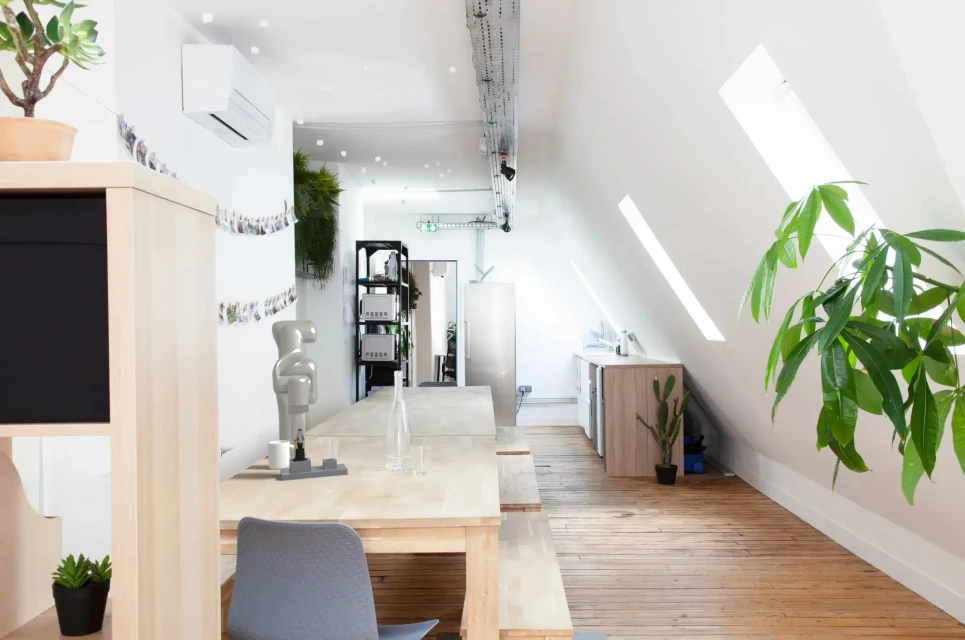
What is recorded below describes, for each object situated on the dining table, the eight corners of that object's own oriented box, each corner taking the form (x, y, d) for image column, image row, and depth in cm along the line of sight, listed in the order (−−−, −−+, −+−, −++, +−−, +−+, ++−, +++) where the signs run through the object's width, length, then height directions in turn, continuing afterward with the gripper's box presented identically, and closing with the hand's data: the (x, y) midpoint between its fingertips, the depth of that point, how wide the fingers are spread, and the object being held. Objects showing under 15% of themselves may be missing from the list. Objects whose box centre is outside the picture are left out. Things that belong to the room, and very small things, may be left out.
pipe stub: (294, 464, 276) (293, 432, 276) (304, 463, 277) (304, 432, 277) (294, 466, 272) (293, 434, 272) (305, 465, 274) (304, 433, 274)
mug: (301, 464, 297) (300, 439, 297) (297, 468, 288) (296, 442, 289) (271, 466, 296) (270, 440, 296) (266, 470, 288) (265, 444, 288)
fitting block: (280, 474, 278) (280, 458, 278) (343, 468, 286) (343, 453, 286) (281, 480, 267) (281, 464, 267) (347, 474, 274) (347, 458, 274)
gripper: (287, 408, 282) (288, 455, 282) (289, 412, 266) (290, 462, 266) (306, 406, 284) (308, 453, 284) (310, 411, 268) (311, 461, 268)
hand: (299, 457), depth 275 cm, fingers closed on pipe stub, 4 cm apart
